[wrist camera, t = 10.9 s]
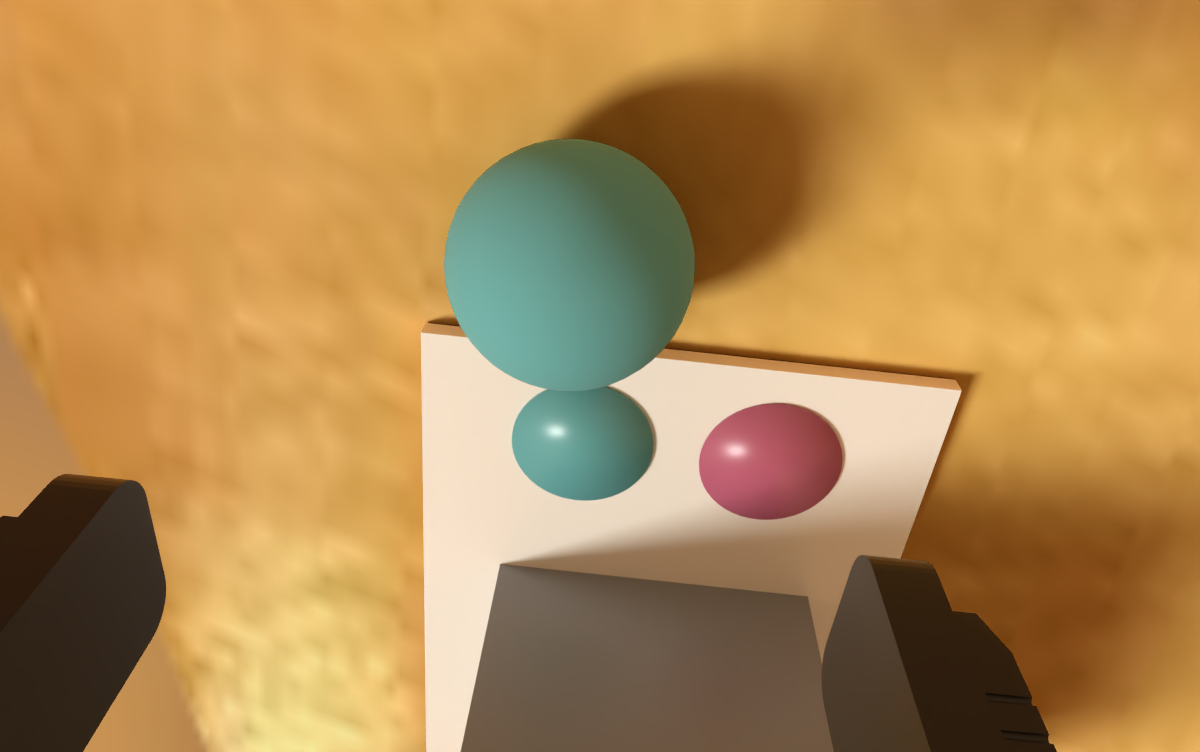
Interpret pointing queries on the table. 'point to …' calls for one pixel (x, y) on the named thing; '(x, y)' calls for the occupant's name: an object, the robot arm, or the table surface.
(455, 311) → the teal ball
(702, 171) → the table surface
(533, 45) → the table surface
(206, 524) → the table surface
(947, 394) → the tube card
